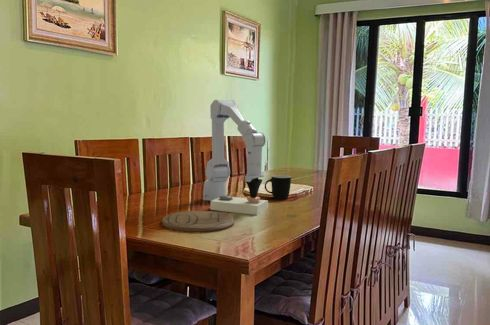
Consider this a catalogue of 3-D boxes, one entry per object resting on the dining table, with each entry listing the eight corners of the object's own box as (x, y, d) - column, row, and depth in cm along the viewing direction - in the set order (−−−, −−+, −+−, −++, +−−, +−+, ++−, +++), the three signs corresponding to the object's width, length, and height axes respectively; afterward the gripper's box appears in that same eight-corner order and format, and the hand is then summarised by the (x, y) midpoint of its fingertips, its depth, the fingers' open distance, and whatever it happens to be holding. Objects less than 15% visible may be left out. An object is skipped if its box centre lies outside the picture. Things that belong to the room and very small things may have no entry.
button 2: (244, 206, 174) (245, 197, 174) (249, 204, 179) (249, 195, 179) (257, 207, 172) (257, 199, 172) (261, 205, 177) (261, 196, 177)
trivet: (229, 215, 169) (229, 210, 169) (239, 232, 145) (239, 226, 144) (162, 216, 165) (162, 211, 165) (161, 234, 140) (161, 228, 140)
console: (210, 209, 176) (210, 201, 176) (223, 204, 187) (223, 196, 187) (257, 214, 169) (257, 205, 169) (267, 209, 180) (267, 200, 180)
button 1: (217, 205, 179) (217, 196, 178) (222, 203, 184) (222, 194, 183) (229, 206, 177) (229, 198, 176) (234, 204, 182) (234, 195, 181)
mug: (290, 196, 208) (290, 175, 207) (290, 200, 200) (291, 178, 198) (264, 195, 209) (265, 174, 208) (263, 199, 200) (264, 177, 199)
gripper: (257, 165, 166) (256, 201, 167) (270, 162, 179) (269, 195, 180) (240, 164, 168) (239, 199, 170) (253, 161, 182) (253, 193, 183)
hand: (253, 197), depth 175 cm, fingers closed, pressing on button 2
